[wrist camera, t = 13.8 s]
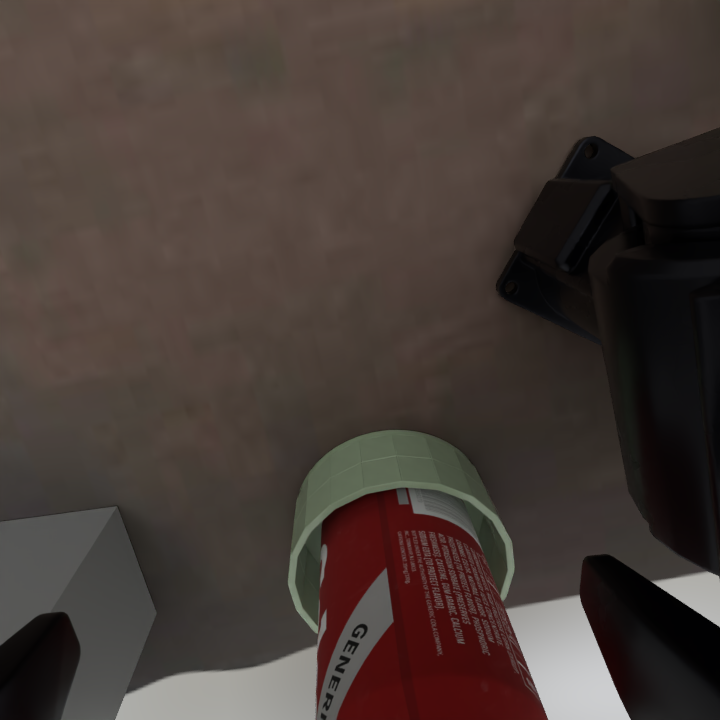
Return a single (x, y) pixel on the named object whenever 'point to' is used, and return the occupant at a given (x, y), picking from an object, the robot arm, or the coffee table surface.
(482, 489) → the crock
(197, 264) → the coffee table surface
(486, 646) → the soda can
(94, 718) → the perfume bottle
